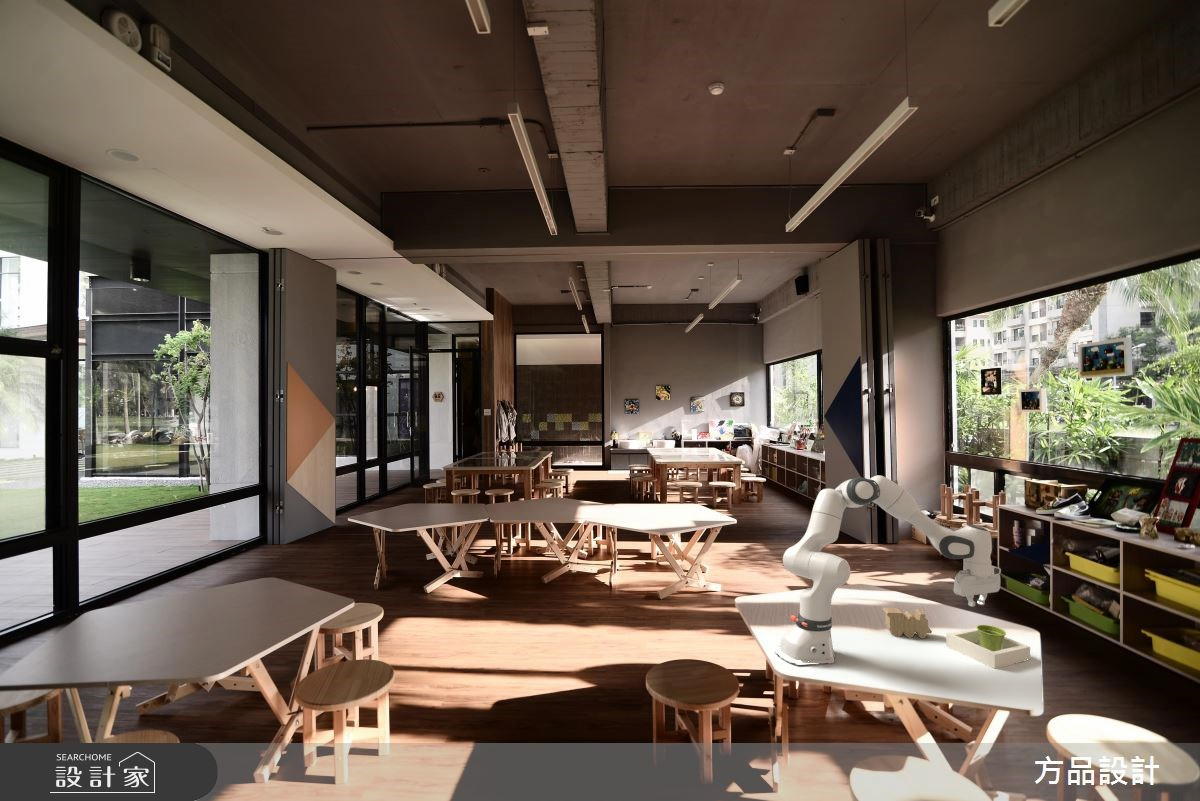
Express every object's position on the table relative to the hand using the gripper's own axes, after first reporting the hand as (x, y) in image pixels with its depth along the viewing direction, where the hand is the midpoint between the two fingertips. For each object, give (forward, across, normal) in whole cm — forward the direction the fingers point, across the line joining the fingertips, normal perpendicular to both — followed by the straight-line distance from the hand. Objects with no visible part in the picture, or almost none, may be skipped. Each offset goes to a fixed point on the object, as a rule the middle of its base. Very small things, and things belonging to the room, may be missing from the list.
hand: (976, 605), depth 216 cm
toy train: (+20, -8, +24) cm, 32 cm away
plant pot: (+20, +9, +1) cm, 22 cm away
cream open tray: (+19, +7, +1) cm, 21 cm away
